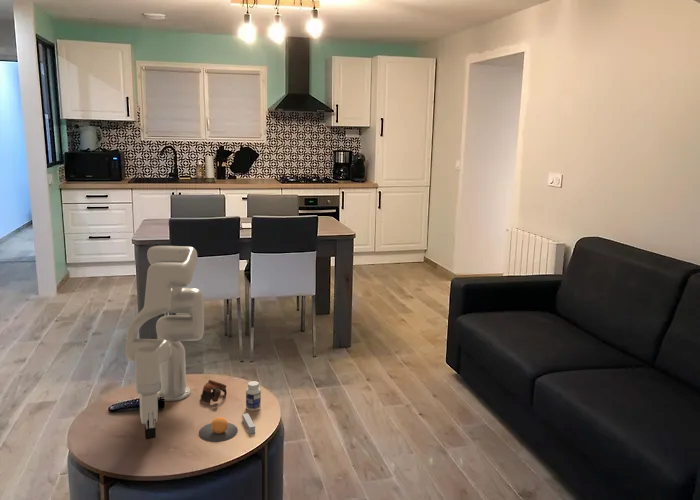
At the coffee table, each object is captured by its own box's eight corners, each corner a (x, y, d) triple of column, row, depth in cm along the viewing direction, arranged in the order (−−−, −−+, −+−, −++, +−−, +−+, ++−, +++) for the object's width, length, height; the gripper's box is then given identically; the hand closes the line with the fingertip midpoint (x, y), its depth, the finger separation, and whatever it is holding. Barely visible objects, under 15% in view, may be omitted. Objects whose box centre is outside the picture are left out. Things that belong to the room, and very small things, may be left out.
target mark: (196, 425, 200) (196, 425, 200) (234, 420, 204) (234, 419, 204) (201, 444, 188) (201, 443, 188) (241, 438, 193) (240, 437, 193)
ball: (221, 411, 197) (229, 422, 199) (207, 420, 196) (215, 432, 198) (222, 418, 192) (231, 430, 194) (208, 427, 191) (217, 439, 193)
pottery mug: (195, 398, 221) (203, 377, 223) (217, 405, 226) (225, 384, 228) (204, 403, 211) (212, 381, 213) (227, 410, 215) (235, 388, 217)
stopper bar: (242, 420, 204) (242, 414, 204) (248, 419, 205) (248, 413, 205) (249, 434, 196) (249, 427, 195) (255, 433, 196) (255, 426, 196)
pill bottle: (243, 407, 214) (243, 382, 213) (255, 402, 218) (255, 379, 216) (251, 412, 211) (251, 387, 209) (263, 408, 214) (263, 383, 212)
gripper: (134, 377, 189) (136, 428, 193) (137, 397, 175) (140, 451, 179) (158, 374, 192) (160, 424, 196) (163, 393, 178) (165, 447, 182)
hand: (150, 437), depth 187 cm, fingers closed
